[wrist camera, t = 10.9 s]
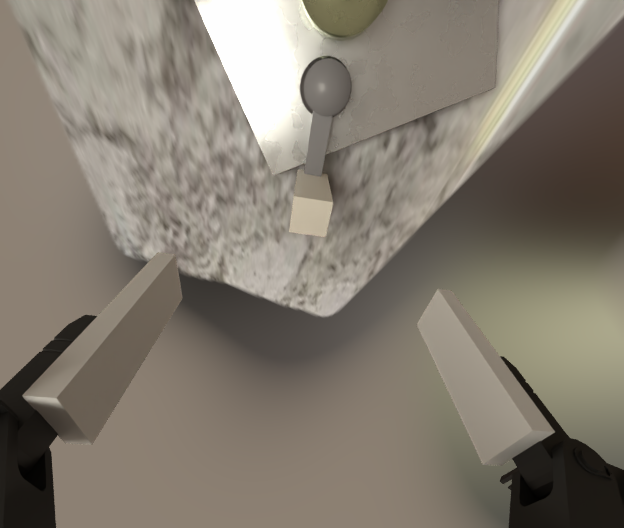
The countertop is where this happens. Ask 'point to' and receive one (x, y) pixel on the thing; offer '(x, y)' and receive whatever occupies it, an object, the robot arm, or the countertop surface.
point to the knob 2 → (318, 147)
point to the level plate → (350, 63)
